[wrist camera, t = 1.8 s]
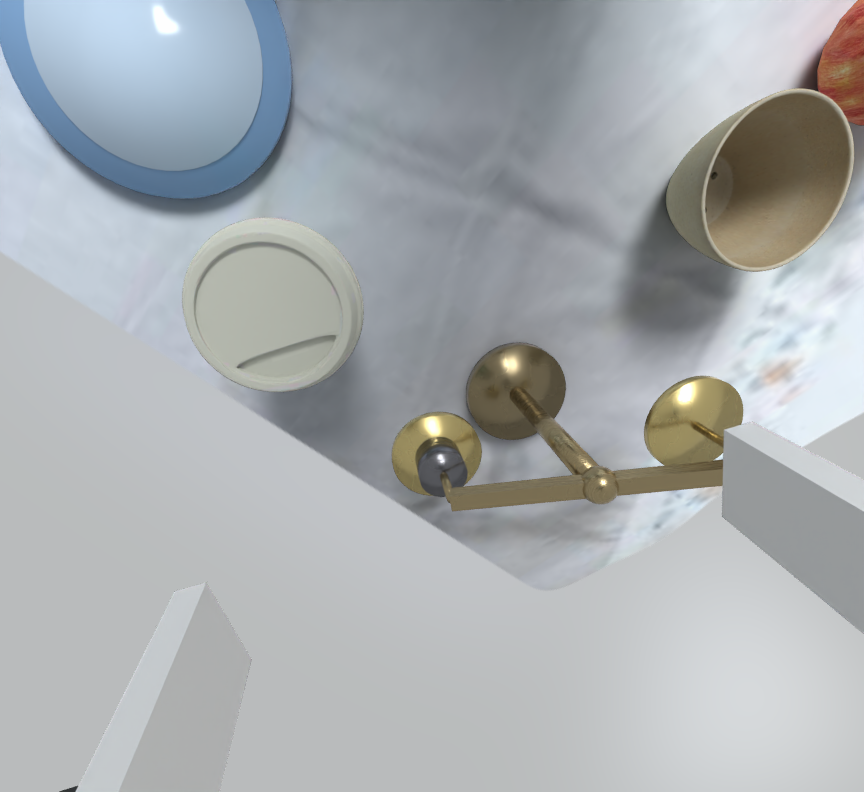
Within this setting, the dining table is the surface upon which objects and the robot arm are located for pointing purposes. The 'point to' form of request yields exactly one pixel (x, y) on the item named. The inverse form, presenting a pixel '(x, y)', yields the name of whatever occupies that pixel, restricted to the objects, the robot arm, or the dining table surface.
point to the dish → (155, 86)
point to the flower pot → (764, 181)
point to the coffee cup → (272, 305)
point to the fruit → (845, 65)
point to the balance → (560, 437)
